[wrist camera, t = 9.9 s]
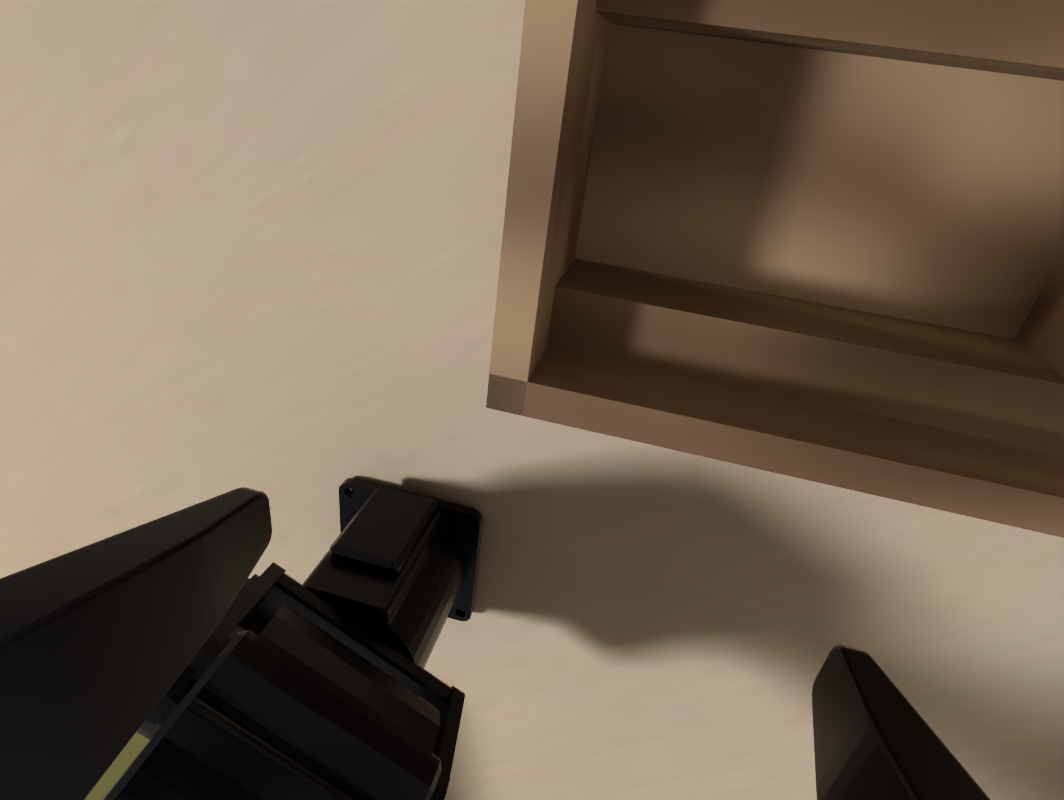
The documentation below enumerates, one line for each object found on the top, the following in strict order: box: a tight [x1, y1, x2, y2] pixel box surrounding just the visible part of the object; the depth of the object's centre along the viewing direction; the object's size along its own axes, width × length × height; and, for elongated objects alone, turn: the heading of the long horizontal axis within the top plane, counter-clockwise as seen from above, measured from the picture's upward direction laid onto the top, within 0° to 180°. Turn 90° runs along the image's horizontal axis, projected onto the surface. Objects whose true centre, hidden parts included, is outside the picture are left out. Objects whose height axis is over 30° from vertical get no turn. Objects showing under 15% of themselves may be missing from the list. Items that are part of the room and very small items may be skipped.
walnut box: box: [486, 0, 1064, 538], centre depth 15 cm, size 12×15×6 cm
